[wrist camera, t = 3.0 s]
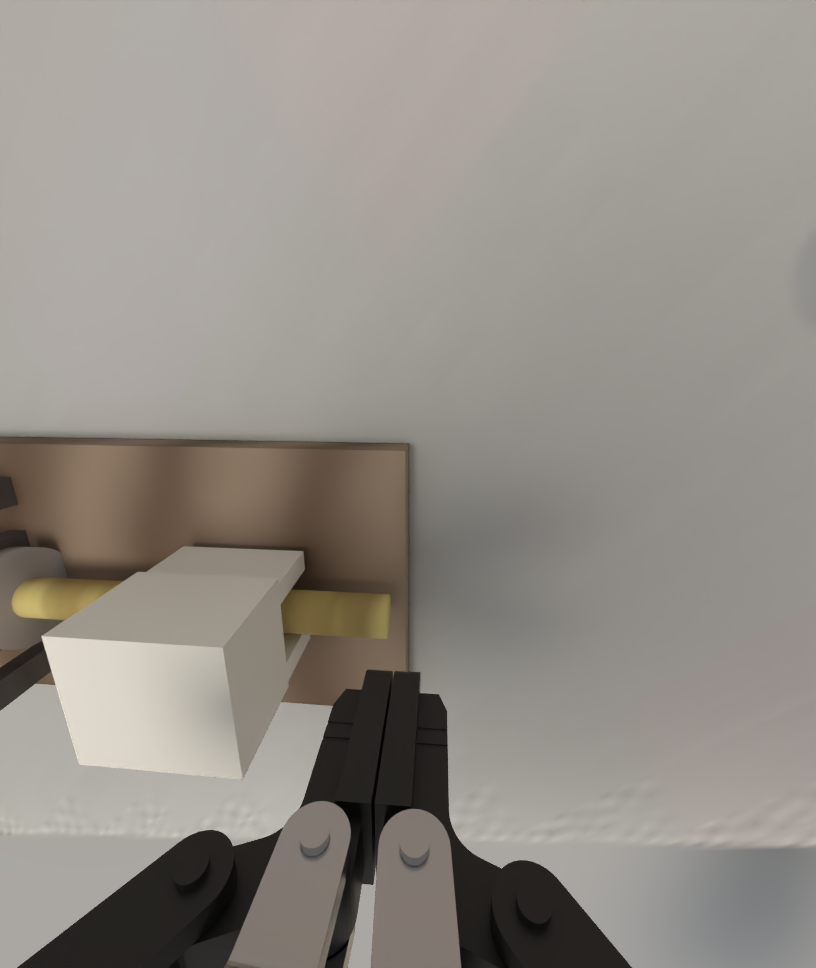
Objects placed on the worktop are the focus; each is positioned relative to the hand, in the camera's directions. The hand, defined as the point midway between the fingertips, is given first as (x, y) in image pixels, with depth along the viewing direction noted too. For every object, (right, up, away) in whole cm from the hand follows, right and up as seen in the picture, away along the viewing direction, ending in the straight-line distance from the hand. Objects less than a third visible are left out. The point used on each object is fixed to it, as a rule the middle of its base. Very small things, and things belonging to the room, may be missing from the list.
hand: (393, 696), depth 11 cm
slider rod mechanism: (-10, +2, +8) cm, 12 cm away
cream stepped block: (-6, +1, +6) cm, 8 cm away
